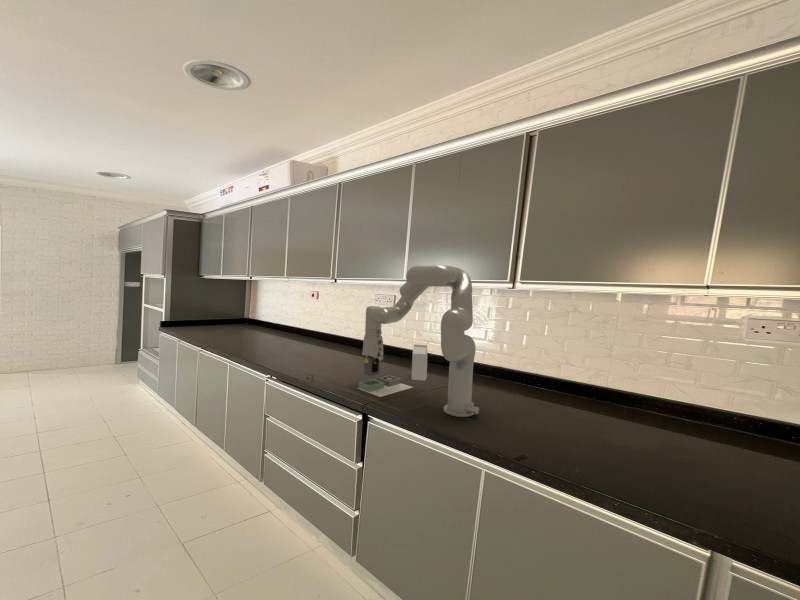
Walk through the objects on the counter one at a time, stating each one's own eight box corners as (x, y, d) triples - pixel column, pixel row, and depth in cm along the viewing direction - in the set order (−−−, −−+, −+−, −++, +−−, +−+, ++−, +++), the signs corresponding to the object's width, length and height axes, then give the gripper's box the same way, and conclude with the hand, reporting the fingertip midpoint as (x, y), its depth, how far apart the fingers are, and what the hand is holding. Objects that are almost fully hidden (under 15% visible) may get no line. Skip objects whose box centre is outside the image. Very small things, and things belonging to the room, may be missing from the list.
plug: (379, 373, 167) (379, 357, 166) (368, 376, 162) (369, 359, 161) (373, 372, 170) (374, 355, 169) (362, 374, 165) (363, 357, 164)
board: (413, 389, 170) (413, 382, 170) (380, 399, 154) (380, 391, 154) (389, 382, 181) (390, 375, 181) (356, 390, 165) (357, 383, 165)
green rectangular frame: (384, 387, 167) (384, 382, 167) (369, 391, 160) (369, 386, 160) (373, 384, 172) (373, 379, 172) (358, 388, 165) (358, 382, 165)
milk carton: (424, 382, 182) (426, 346, 181) (411, 381, 184) (412, 345, 183) (426, 379, 189) (427, 344, 188) (413, 377, 191) (414, 343, 190)
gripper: (391, 334, 162) (389, 373, 163) (367, 329, 173) (366, 366, 174) (379, 335, 156) (378, 376, 157) (355, 330, 168) (354, 368, 169)
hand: (371, 370), depth 166 cm, fingers closed on plug, 4 cm apart
